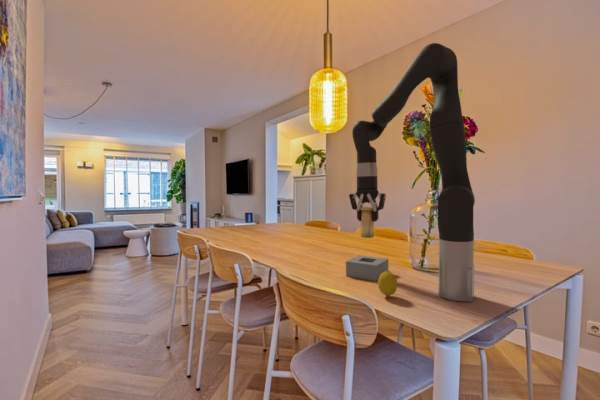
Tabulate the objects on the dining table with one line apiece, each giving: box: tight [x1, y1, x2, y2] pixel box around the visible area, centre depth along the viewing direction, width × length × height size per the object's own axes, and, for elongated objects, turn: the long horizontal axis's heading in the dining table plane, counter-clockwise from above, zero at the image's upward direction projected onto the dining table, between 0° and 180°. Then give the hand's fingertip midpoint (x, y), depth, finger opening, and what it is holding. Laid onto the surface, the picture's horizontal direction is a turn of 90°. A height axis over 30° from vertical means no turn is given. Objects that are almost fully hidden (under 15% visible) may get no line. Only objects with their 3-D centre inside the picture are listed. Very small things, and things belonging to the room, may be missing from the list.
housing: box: [345, 254, 389, 282], centre depth 117 cm, size 12×12×6 cm
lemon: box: [377, 270, 398, 298], centre depth 93 cm, size 6×6×8 cm
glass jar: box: [360, 206, 375, 239], centre depth 116 cm, size 5×5×11 cm
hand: (367, 220), depth 116 cm, fingers closed on glass jar, 5 cm apart
